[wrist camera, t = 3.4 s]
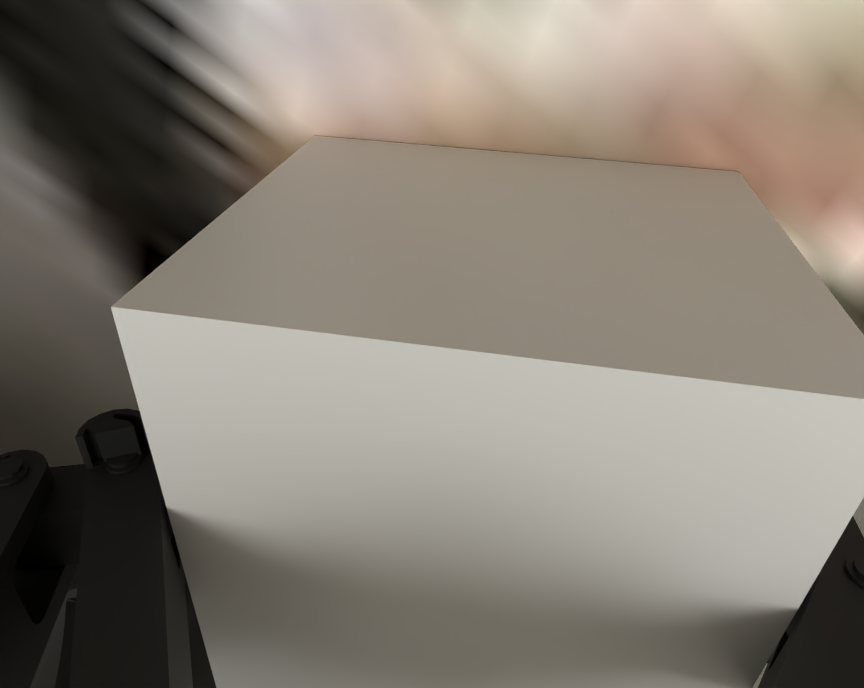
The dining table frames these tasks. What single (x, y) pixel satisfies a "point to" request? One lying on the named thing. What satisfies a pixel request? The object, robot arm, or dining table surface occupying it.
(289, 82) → the dining table surface
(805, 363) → the plain off-white cube
